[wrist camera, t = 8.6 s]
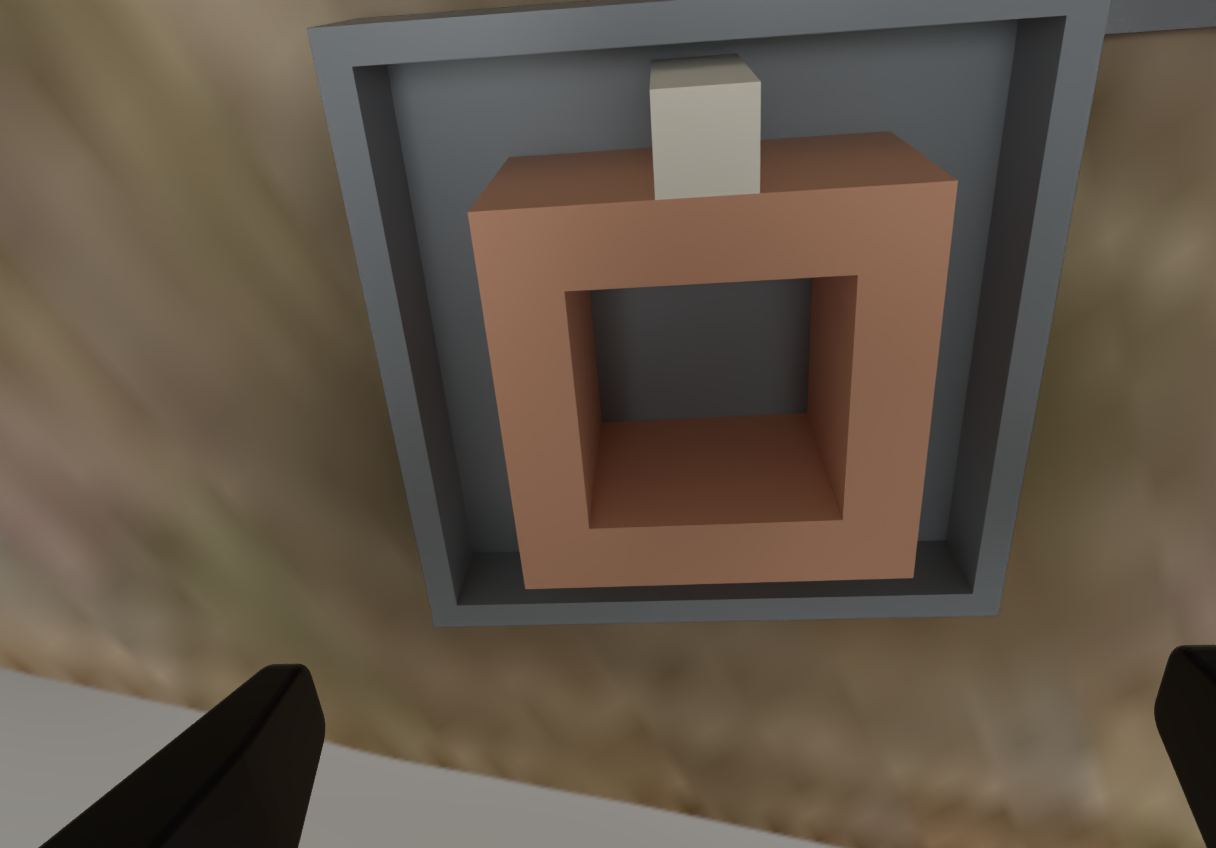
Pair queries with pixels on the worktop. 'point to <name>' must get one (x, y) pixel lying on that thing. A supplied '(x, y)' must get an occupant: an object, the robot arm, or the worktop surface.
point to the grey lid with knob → (1159, 15)
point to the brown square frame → (716, 253)
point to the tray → (714, 312)
